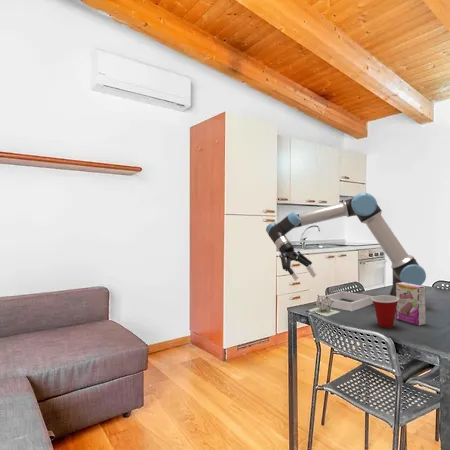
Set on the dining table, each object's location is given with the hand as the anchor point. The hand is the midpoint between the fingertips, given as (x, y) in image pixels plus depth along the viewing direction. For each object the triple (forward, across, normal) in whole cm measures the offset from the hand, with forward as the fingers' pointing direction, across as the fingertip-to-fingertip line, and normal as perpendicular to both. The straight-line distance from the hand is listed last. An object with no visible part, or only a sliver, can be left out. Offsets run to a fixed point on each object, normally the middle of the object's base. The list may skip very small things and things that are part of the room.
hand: (306, 277), depth 176 cm
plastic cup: (+40, -4, +17) cm, 43 cm away
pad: (+18, 0, -4) cm, 19 cm away
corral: (+17, -22, -5) cm, 28 cm away
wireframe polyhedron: (+18, -1, -4) cm, 19 cm away
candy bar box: (+42, -17, +20) cm, 50 cm away
